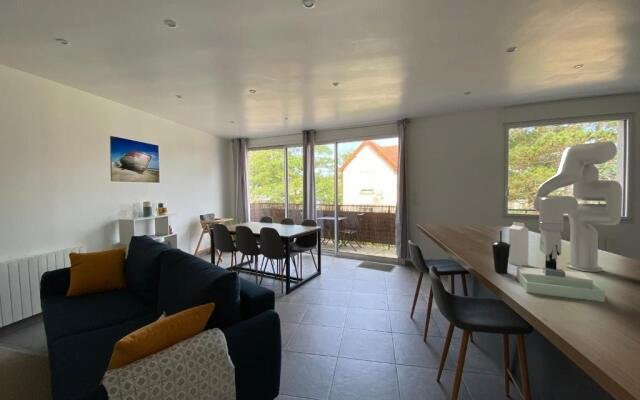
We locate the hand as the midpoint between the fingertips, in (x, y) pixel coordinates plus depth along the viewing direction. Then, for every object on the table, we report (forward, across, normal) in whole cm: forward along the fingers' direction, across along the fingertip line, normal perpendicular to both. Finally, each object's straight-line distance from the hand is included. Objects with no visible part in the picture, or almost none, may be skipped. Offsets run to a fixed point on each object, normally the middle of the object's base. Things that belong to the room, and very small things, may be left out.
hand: (550, 270), depth 110 cm
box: (+6, +10, 0) cm, 12 cm away
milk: (+6, -29, -6) cm, 30 cm away
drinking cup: (+6, -11, -16) cm, 20 cm away
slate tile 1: (+1, +4, 0) cm, 4 cm away
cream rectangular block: (+6, +1, 0) cm, 6 cm away
